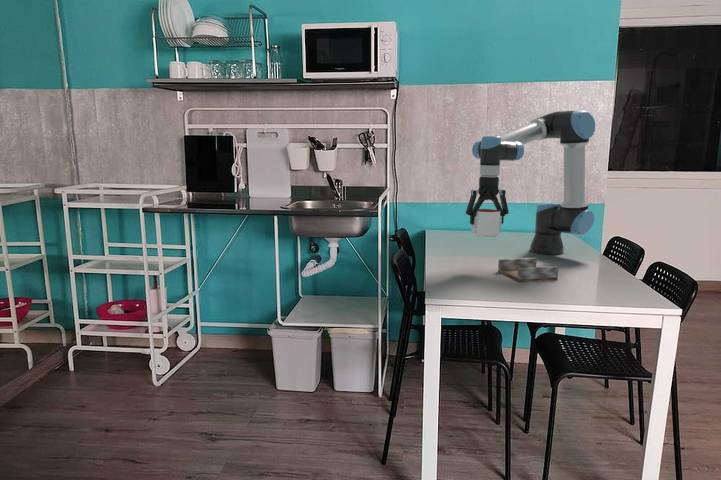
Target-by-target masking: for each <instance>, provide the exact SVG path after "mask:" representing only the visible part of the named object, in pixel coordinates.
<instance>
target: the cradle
mask: <svg viewBox="0 0 721 480" xmlns="http://www.w3.org/2000/svg"><path fill="white" fill-rule="evenodd" d="M537 262H538V261H537V257H524V258H523V257H520V258H517V257H516V258H500V259H498V264H497V265H498V266H497V272H499V273H500V274H502V275H505V276H507V277H509V278H510V279H513V280H514V281H516V282H519V283H524V282H525V283H526V282H528V283H529V282H543V281H544V282H547V281H558V278H559V266H557V265H553V266H551V265H549V266H537Z"/></svg>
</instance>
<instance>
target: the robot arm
mask: <svg viewBox="0 0 721 480" xmlns="http://www.w3.org/2000/svg"><path fill="white" fill-rule="evenodd" d="M595 132H596V121H595V118H594V116H593V115H592V113H590V112H589V111H587V110H579V109H577V110H564V111H561V110H559V111H558V110H557V111H554V112H550V113H546V114H545V115H542V116H539V117H537V118H534V119H532V120H531V121H530V122H529V123H528V124H526V125H523V126H520V127H518V128H515V129H513V130H511V131H507V132H505V133H503V134H500V135H498V136H497V135H496V136H492V135H489V136H488V135H485V136H482V137H481V140H479V141H475V142H474V143H473V145H472V147H471V153H472V156H473V157H474V158H476V159H478V160H479V175H480V176H479V179H478V189H471V190H470V198H469V201H468V204H467V207H466V210H465V215H468V216H469V224H470V225H471V230H470V231H471V233H473V234H474V233H476V225H477V217H476V216H475V215H476V213H477V211H478V210H479V209H481V207H482V204H484V202H486V201H492V202H493V204H494V207H495V210H499V211H500V225H499V233H501V232H502V225H503V224H504V217H506V215H509V212H510V211H509V208H508V203H507V202H508V201H507V199H506V198H507V197H506V190H505V189H499V183H500V178H499V176H500V166H501V161H505V162H506V161H508V162H509V161H510V162H514V161H519V160H521V159H522V158H523V157H524V155H525V146H524V145H527V144H529V143H531V142H534V141H543V140H547V139H559V144H560V145H561V147H563V201H562V202H551V203H546V202H545V203H539V204H538V205H537V206H536V212H535V225H534V226H535V229H534V235H533V236H534V237H533V239H532V241H531V243H530V246H529V251H530V252H532V253H535V254H542V255H562V254H564V249H565V247H564V244H563V240H562V233H563V234H569V235H570V234H571V235H574V236H583V235H586V234H588V232H589V231H590V230H591V229H592V227H593V226H594V222H595V214H594V213H593V211H592V210H591V209H589V203H588V202H587V201H586V198H585V197H586V196H585V192H586V190H585V189H586V179H585V178H586V146H587V144H588V143H590V138H592V137H593V136H594V133H595ZM478 195H479V196H478ZM498 195H499V199H500V201H499V199H498V197H497V196H498ZM477 196H478V198H477ZM476 200H477V201H476ZM475 202H476V203H475Z"/></svg>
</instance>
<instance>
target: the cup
mask: <svg viewBox="0 0 721 480" xmlns="http://www.w3.org/2000/svg"><path fill="white" fill-rule="evenodd" d="M475 216H476V217H477V225H476V233H473V234H474V235H475V236H476V237H483V238H494V237H495V238H496V237H497V236H499V234H500V232H499V225H500V211H499V210H497V209H494V208H479V210H478V211H477V213H476V215H475Z"/></svg>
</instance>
